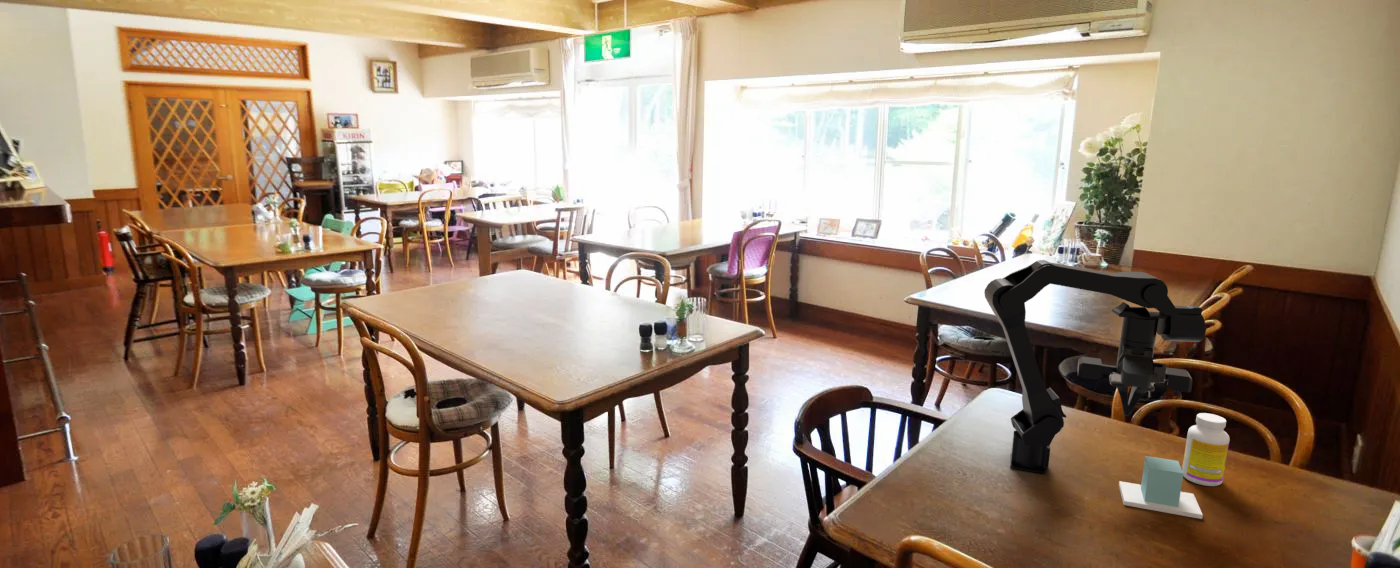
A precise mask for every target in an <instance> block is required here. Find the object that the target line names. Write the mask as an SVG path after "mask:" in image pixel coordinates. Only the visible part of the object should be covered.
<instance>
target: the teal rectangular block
mask: <svg viewBox="0 0 1400 568" xmlns="http://www.w3.org/2000/svg"><path fill="white" fill-rule="evenodd" d="M1183 474H1184V473H1183V471H1182V465H1180V461H1179V460H1174V459H1169V458H1163V457H1162V458H1161V457H1155V456H1149V455H1145V456H1144V463H1143V470H1142V476H1141V484H1140V485H1141V491H1142V495H1143V498H1144V501H1146V502H1152V503H1157V504H1163V505H1168V506H1174V507H1178V505H1179V499H1180V493H1181V492H1182V486H1183V485H1182V484H1183V479H1184V476H1183Z"/></svg>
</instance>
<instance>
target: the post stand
mask: <svg viewBox="0 0 1400 568" xmlns="http://www.w3.org/2000/svg"><path fill="white" fill-rule="evenodd" d="M1118 488H1119V492H1120V495H1121V501H1122V503H1123V505H1124V506H1128V507H1133V508H1139V509H1144V510H1150V511H1156V512H1161V513H1165V514H1172V515H1178V516H1183V517H1188V518H1193V519H1199V520H1203V517H1204V516H1203V512H1202V510H1201V508H1200V506H1199V503H1198V501H1197V498H1196V496H1195V494H1194V493H1191V492H1184V491H1181V493H1180V499H1179V505H1178V507H1174V506H1168V505H1163V504H1157V503H1152V502H1146V501H1144V498H1143V495H1142V491H1141V484H1139V483H1133V482H1127V481H1121V480H1119V481H1118Z"/></svg>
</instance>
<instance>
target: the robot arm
mask: <svg viewBox="0 0 1400 568" xmlns="http://www.w3.org/2000/svg"><path fill="white" fill-rule="evenodd" d="M1049 285H1055V286H1061V287H1067V288H1072V289H1077V290H1083V291H1089V292H1094V293H1099V294H1105V295H1111V296H1114V297H1116V298H1119V299H1121V300H1124V301H1126V302H1128V303H1131V304H1134V305H1137V306H1130V305H1129V304H1127V303H1126V302H1124V301H1123V302H1121V303H1120V304H1119V305H1117V306H1116V307H1114V308H1112V309H1111V312H1112V313H1113V314H1115V315H1116V316H1118V317H1119V318H1122V324H1121V330H1120V339H1119V345H1118V352H1117V360H1116V365H1109V364H1103V362H1102V358H1098V357H1090V356H1089V357H1088V356H1081V357H1079V358H1078V360H1077V361H1078V362H1077V377H1078V378H1082V379H1088V380H1089V379H1090V380H1095V381H1096V380H1098V379H1099V378H1101V377H1102V375H1106V376H1108V378H1109V384H1110V386H1112V387H1116V388H1117V391H1118V394H1119V397H1120V400H1121V406H1122V410H1123V411H1122V412H1123V415H1124V416H1125V417H1126V416H1127V417H1129V416H1130V415H1131V414H1132V412H1133V410H1134V408H1136V405H1137V404H1138V402H1139V401H1140V399H1141V398H1142V397H1143V395H1144V394H1146V393H1147V392H1154V391H1155V389H1156V388H1155V386H1154V384H1160V383H1161V384H1163V383H1165V384H1166V386H1167V387H1168V388H1169V389H1170V390H1171V391H1175V392H1181V393H1186V394H1187V393H1191V392H1192V388H1193V378H1192V376H1191V375H1190V373H1189V371H1187V369H1182V368H1174V367H1167V364H1166V363H1162V362H1154V359H1153V358H1154V352H1155V344H1156V339H1157V335H1159V336H1160V337H1161V338H1162V339H1163V341H1167V342H1168V341H1169V342H1191V343H1192V342H1193V343H1200V342H1202V340H1204V338H1205V336H1206V332H1207V327H1206V322H1205V319H1204V316H1203V314H1202V313H1203V308H1202V307H1201V306H1198V305H1192V304H1191V305H1174V303H1173V302H1172V300H1171V298H1170V297H1169V296H1168V293H1169V289H1168V286H1167V284H1166V282H1165V281H1163V280H1162V279H1160V278H1157V277H1156V276H1153V275H1151V274H1149V273H1146V272H1144V271H1120V272H1105V271H1101V270H1097V269H1089V268H1083V267H1079V266H1072V265H1067V264H1062V263H1061V264H1060V263H1055V262H1050V261H1047V260H1045V259H1038V260H1036V261H1035V262H1033V263H1031V264H1029V265H1028V266H1026V267H1024V268H1021V269H1018V270H1016V271H1014V272H1011V273H1010V274H1008V275H1006V276H1004V277H1003V278H1001V277H1000V278H995V279H993V280H991V281H989V283H988V284H987V285H986V287H985V288H984V291H983V292H984V298H985V299H986V301H987V304H988V305H989V307H990V309H991V311H992V312H993V314H994V316H995V317H996V318H997V320H998V322H999V324H1000V326H1001V327H1002V330H1003V332H1004V335H1005V340H1006V342H1007V346H1008V349H1009V351H1010V354H1011V357H1012V360H1013V363H1014V367H1015V370H1016V373H1017V375H1018V379H1019V381H1020V386H1021V388H1022V394H1021V395H1022V396H1021V399H1022V400H1021V401H1022V402H1021V403H1022V409H1021V410H1020V411H1018V412H1017V413H1016V414H1014V415H1013V416H1011V418H1010V422H1011V425H1012V428H1013V429H1014V430H1013V437H1012V445H1011V453H1010V461H1009V468H1011V469H1015V470H1020V471H1026V472H1031V473H1037V474H1046V472H1047V470H1046V469H1047V468H1049V464H1050V457H1051V456H1050V454H1051V443H1052V442H1053V440H1054V438H1055V436H1056V435H1057V434H1058V433H1060V432H1061V430H1062V429H1063V428H1064V425H1065V421H1064V418H1067V415H1066V414H1065V413H1064V411H1063V407H1062V400H1061V398H1060V397H1059V395H1058V394H1057V393H1056V392H1055V391H1054V390H1053V389H1052V387H1049V388H1047V387H1046V385H1045V382H1044V379H1043V376H1042V373H1041V370H1040V366H1039V364H1038V361H1037V357H1036V355H1035V351H1034V349H1033V346H1032V343H1031V339H1030V337H1029V332H1028V330H1027V328H1026V316H1027V315H1026V312H1027V311H1026V304H1025V303H1027V302H1028V301H1030V300H1032V299H1033V298H1034V297H1036V296H1037V295H1038V294H1039V293H1040V292H1041V291H1042V290H1043V289H1044V288H1046V287H1047V286H1049ZM1149 309H1154V310H1156V311H1149ZM1130 387H1131V390H1130V393H1129V392H1128V391H1129V388H1130ZM1128 397H1129V398H1128Z"/></svg>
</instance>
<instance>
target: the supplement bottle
mask: <svg viewBox="0 0 1400 568" xmlns="http://www.w3.org/2000/svg"><path fill="white" fill-rule="evenodd" d="M1195 423H1196V424H1194V425H1191V426H1190V427H1189V428H1188V431H1187V435H1186V440H1185V441H1186V442H1185V448H1184V455H1183V460H1182V461H1183V462H1182V465H1181V469H1182V471H1183V473H1184V474H1183V478H1184V479H1186V480H1188V481H1190V482H1191V483H1193V484H1197V485H1201V486H1207V487H1218V486H1220V485H1221V484H1222V483H1223V482H1224V476H1225V475H1224V474H1225V469H1226V465H1227V464H1226V463H1227V459H1228V450H1229V446H1230V441H1231V439H1230V435H1229V434H1228V433H1227V432H1226V431H1225V430H1224V429H1225V428H1226V427H1227V426H1226V425H1227V420H1226V418H1224V417H1222V416H1220V415H1217V414H1214V413H1207V412H1199V413H1197V414H1196V418H1195Z"/></svg>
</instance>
